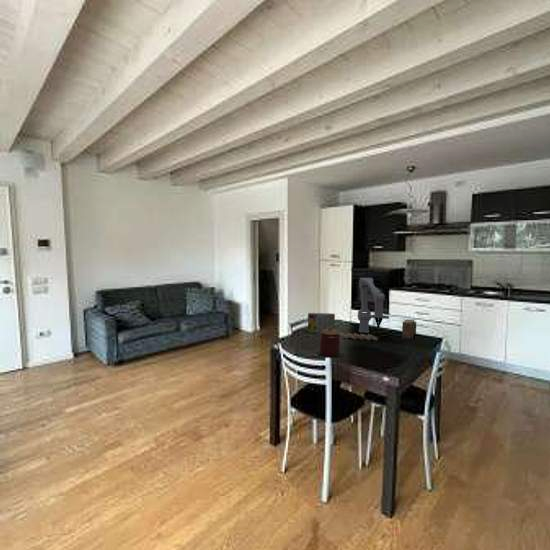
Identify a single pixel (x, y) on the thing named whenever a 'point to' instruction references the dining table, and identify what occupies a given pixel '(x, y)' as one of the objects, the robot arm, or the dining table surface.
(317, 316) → the snack box
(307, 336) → the dining table surface
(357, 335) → the terracotta domino
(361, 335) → the domino
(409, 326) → the stack of blocks
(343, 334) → the domino
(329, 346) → the canister
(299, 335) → the dining table surface
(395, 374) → the dining table surface
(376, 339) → the domino
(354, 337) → the domino
